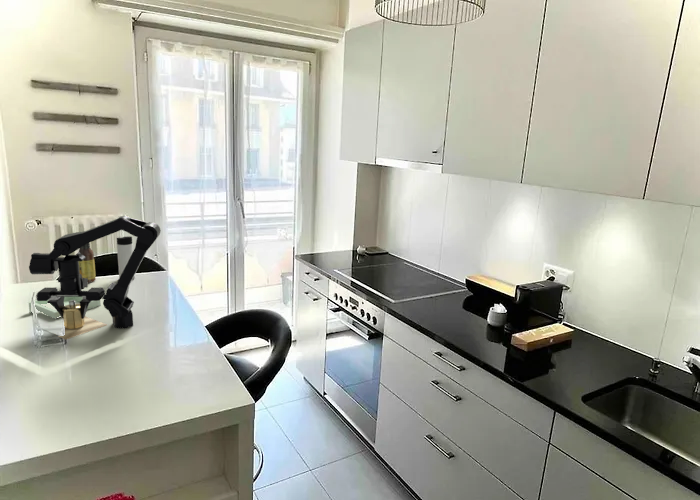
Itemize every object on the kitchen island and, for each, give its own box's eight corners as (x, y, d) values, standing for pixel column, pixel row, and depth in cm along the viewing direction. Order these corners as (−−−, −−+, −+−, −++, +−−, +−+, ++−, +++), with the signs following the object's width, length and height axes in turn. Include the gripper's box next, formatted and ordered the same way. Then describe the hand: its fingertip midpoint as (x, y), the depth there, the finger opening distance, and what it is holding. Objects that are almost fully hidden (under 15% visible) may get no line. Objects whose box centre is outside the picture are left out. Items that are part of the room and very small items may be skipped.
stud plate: (107, 328, 154) (106, 313, 153) (66, 343, 142) (64, 327, 141) (83, 319, 160) (81, 304, 159) (41, 332, 148) (39, 317, 147)
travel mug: (124, 282, 200) (121, 238, 195) (116, 278, 204) (113, 235, 199) (137, 279, 205) (135, 236, 200) (130, 276, 209) (127, 234, 204)
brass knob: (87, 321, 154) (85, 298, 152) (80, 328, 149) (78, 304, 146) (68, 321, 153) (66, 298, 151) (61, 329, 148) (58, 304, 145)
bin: (100, 309, 170) (100, 299, 169) (55, 323, 156) (54, 312, 155) (74, 299, 178) (73, 290, 177) (29, 312, 163) (28, 302, 162)
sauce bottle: (80, 279, 200) (76, 236, 195) (96, 278, 203) (93, 235, 198) (78, 284, 194) (74, 239, 190) (95, 283, 197) (91, 238, 192)
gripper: (109, 266, 156) (112, 309, 160) (49, 266, 152) (54, 309, 156) (97, 276, 145) (100, 321, 149) (32, 276, 142) (38, 322, 146)
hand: (73, 318), depth 150 cm, fingers closed on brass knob, 5 cm apart
